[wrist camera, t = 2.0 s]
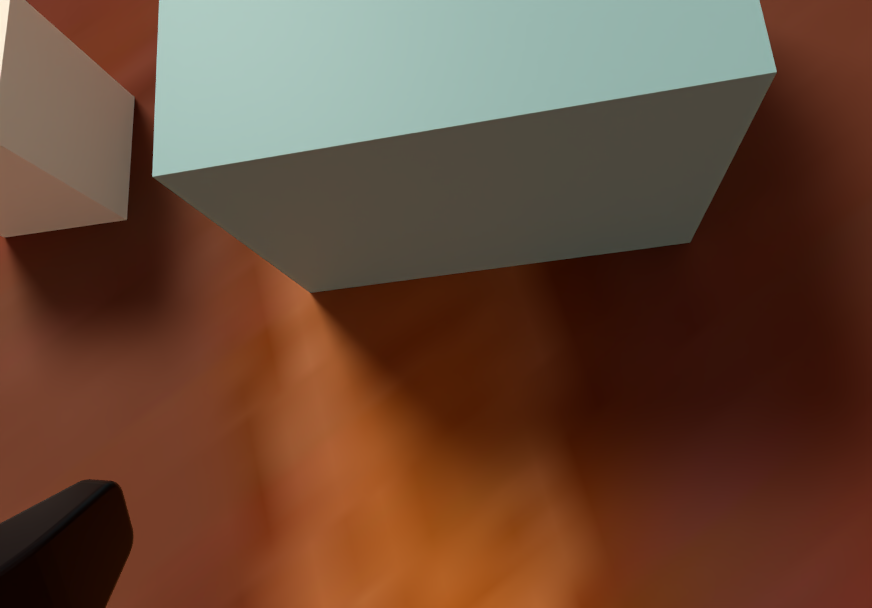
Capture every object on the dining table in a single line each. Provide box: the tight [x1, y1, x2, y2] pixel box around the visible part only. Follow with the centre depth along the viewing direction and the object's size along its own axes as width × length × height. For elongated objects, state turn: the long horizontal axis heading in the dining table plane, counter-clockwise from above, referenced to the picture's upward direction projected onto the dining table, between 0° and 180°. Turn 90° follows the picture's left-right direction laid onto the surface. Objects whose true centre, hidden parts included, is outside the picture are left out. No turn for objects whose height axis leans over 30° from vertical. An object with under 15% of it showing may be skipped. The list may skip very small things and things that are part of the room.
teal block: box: [152, 0, 777, 293], centre depth 18 cm, size 10×12×9 cm
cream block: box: [0, 0, 135, 237], centre depth 23 cm, size 5×5×6 cm
